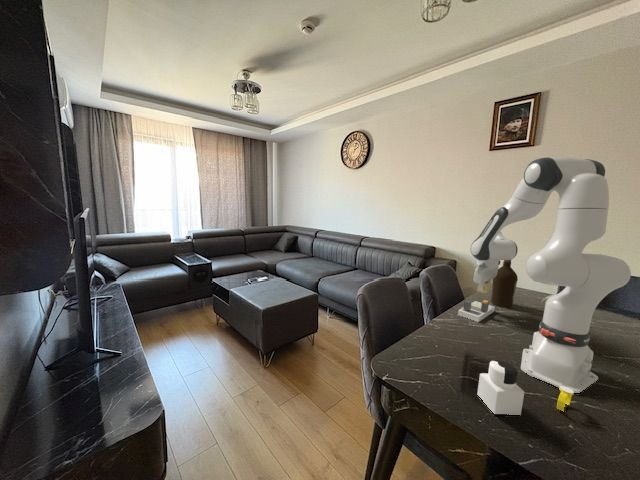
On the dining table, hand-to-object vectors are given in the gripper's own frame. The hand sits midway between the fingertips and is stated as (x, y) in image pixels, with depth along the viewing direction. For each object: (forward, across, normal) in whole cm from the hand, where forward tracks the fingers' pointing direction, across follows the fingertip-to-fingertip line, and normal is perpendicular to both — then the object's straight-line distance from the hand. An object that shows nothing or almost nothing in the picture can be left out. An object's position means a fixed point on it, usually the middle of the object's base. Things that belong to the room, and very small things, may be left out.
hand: (483, 288), depth 128 cm
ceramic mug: (+12, +31, -23) cm, 41 cm away
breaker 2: (+9, -7, -4) cm, 12 cm away
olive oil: (+12, +18, -4) cm, 22 cm away
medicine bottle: (+11, -65, -28) cm, 72 cm away
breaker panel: (+12, -6, 0) cm, 13 cm away
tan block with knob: (+2, 0, 0) cm, 2 cm away
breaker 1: (+9, -13, +2) cm, 16 cm away
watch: (+11, -52, -39) cm, 66 cm away
